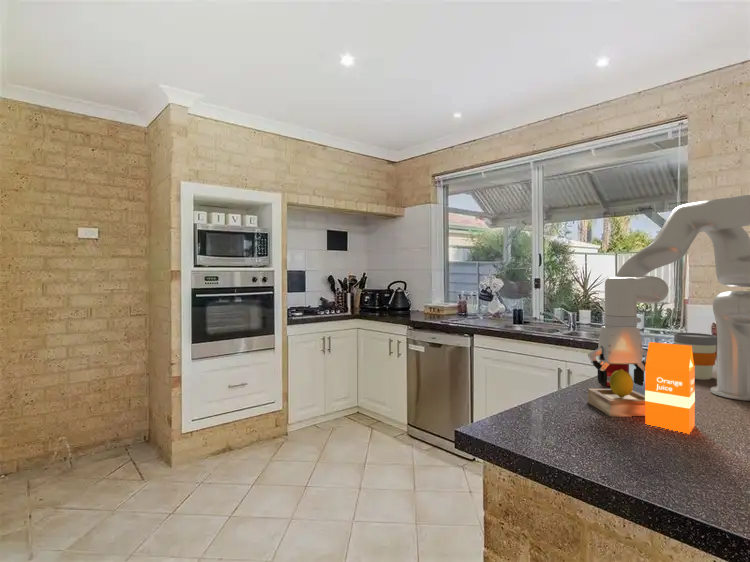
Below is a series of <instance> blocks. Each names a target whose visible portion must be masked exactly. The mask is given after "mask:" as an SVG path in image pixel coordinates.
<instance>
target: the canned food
mask: <svg viewBox="0 0 750 562" xmlns="http://www.w3.org/2000/svg"><path fill="white" fill-rule="evenodd" d="M620 369H623V370H624V371H626V372H627V373H629V374H630V364H609V366H608V367H607V368H606V369H605V371H607V385H606V386H605V387H608V386H610V377H611V375H612V374H613V373H614V372H615V371H617V370H620Z"/></svg>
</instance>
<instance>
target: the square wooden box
mask: <svg viewBox="0 0 750 562" xmlns="http://www.w3.org/2000/svg"><path fill="white" fill-rule="evenodd" d="M587 403H588V404H590V405H591V406H592V407H594V408H596V409H598V410H599V411H601V412H603V413H604V414H606V415H607V416H609V417H632V416H643V415H644V416H645V394H642V393H640V392H639V391H636V390H633V389H632V392H631V393H630V394H629V395H627V396H624V397H623V398H620V397H619V396H618V395H616V394H615V393H614V392H613V391H612V390H611V388H587Z"/></svg>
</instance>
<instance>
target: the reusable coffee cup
mask: <svg viewBox="0 0 750 562" xmlns="http://www.w3.org/2000/svg"><path fill="white" fill-rule="evenodd" d="M673 342H674V344H677V345H688V346H692V354H693V362H694V366H695V380H711V379H712V374H713V369H714V366H715V365H716V361H717V335H714V334H708V333H701V332H700V333H698V332H675V333H674V336H673Z"/></svg>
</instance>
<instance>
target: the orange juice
mask: <svg viewBox="0 0 750 562" xmlns="http://www.w3.org/2000/svg"><path fill="white" fill-rule="evenodd" d="M647 351H648V352H647V359H646V366H645V371H644V382H645V384H644V388H645V389H644V395H645V417H644V420H645V423H644V424H647V425H651V426H650V427H652V426H657V427H661V428H665V429H664V430H666V429H669V430H668V431H671V430H673V431H672V432H675V431H678V432H677V433H680V432H683V433H682V434H685V433H687V434H686V435H690V434H691V433H692V431H693V429H694V428H695V424H696V421H695V419H696V418H695V415H696V414H695V413H696V412H695V409H696V408H695V407H696V406H695V402H696V397H695V396H696V394H695V393H696V391H695V383H696V382H695V380H696V379H695V366H694V362H693V354H692V346H688V345H677V344H675V343H664V342H663V343H662V342H654V341H653V342H652V341H649V342H648V347H647ZM647 425H646V426H647ZM657 427H656V428H657ZM661 428H660V429H661ZM690 432H691V433H690Z"/></svg>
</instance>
